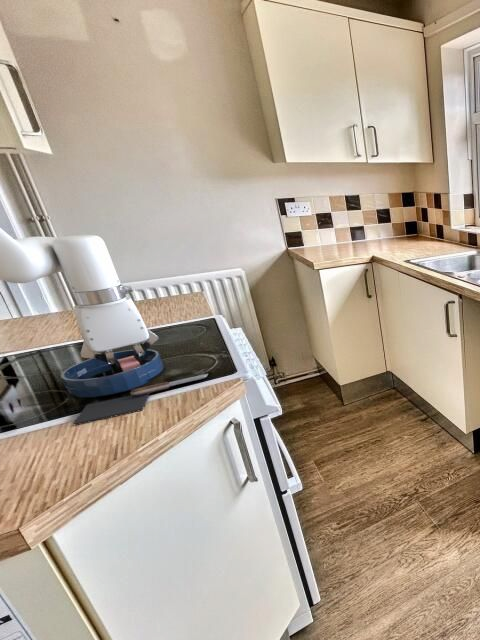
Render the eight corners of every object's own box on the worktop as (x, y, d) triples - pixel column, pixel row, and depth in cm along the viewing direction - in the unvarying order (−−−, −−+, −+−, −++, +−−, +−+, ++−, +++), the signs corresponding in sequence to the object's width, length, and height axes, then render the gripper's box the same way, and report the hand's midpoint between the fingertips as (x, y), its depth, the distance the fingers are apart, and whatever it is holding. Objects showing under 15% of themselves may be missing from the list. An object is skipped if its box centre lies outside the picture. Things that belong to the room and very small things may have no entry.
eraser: (127, 381, 92) (121, 367, 91) (122, 373, 96) (116, 359, 95) (145, 377, 94) (139, 362, 93) (138, 369, 98) (133, 355, 97)
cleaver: (207, 370, 96) (207, 373, 92) (209, 376, 97) (209, 379, 93) (131, 386, 89) (129, 391, 85) (134, 393, 89) (131, 397, 85)
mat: (73, 425, 77) (72, 423, 77) (87, 406, 84) (86, 404, 84) (142, 410, 82) (141, 408, 82) (150, 393, 88) (149, 391, 88)
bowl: (58, 407, 83) (48, 387, 82) (83, 376, 96) (75, 358, 95) (158, 387, 91) (151, 368, 89) (170, 360, 104) (163, 344, 102)
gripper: (145, 285, 96) (172, 358, 103) (43, 302, 85) (81, 383, 92) (153, 290, 91) (181, 366, 98) (46, 309, 80) (86, 393, 87)
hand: (132, 373), depth 95 cm, fingers closed on eraser, 3 cm apart
